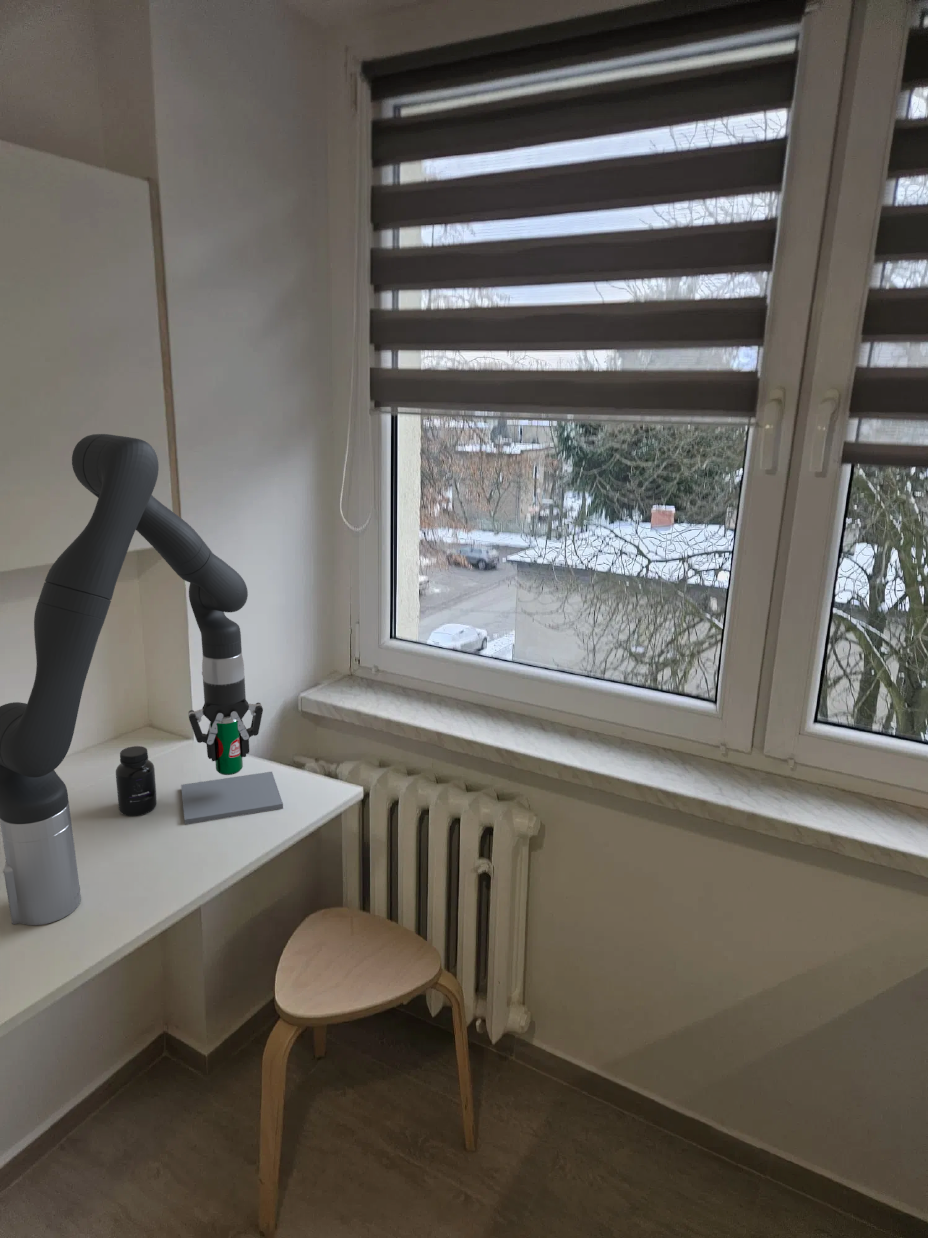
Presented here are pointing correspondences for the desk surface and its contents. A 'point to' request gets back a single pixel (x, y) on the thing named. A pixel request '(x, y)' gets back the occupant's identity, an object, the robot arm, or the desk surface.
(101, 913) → the desk surface
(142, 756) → the supplement bottle
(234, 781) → the slate gray mat
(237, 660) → the robot arm
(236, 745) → the soda can
